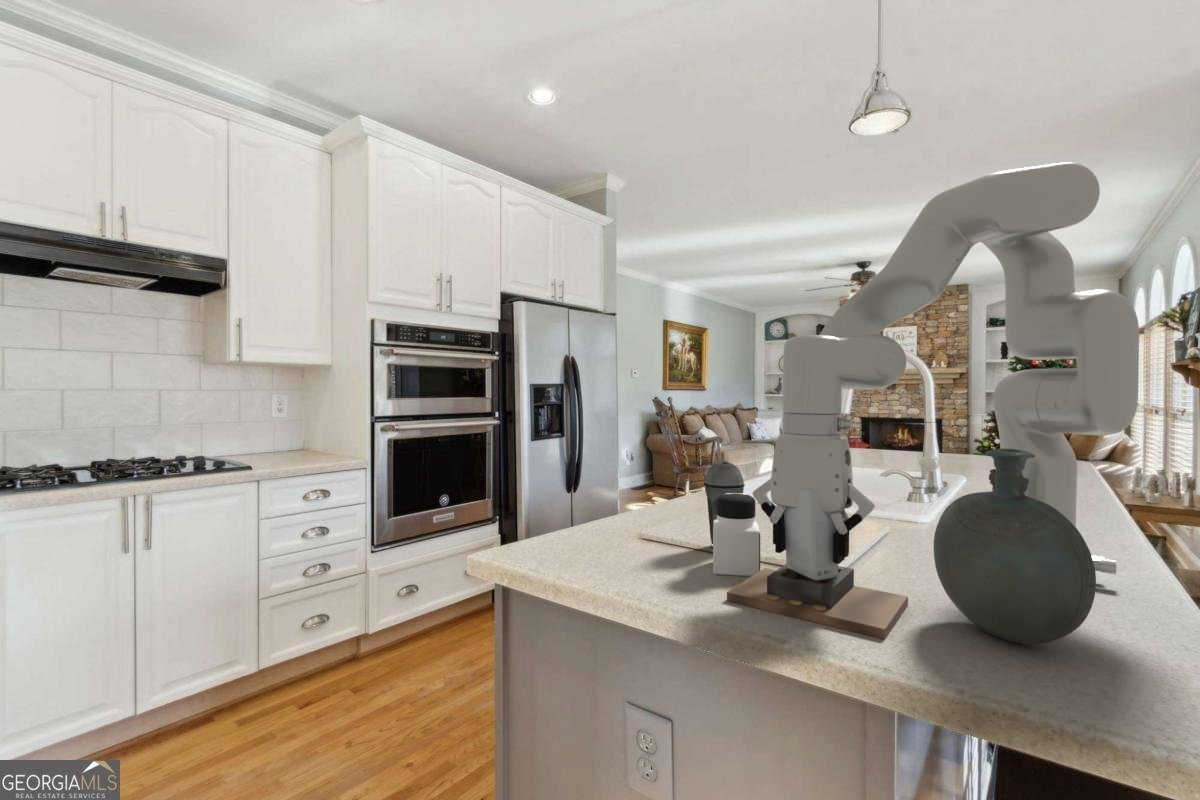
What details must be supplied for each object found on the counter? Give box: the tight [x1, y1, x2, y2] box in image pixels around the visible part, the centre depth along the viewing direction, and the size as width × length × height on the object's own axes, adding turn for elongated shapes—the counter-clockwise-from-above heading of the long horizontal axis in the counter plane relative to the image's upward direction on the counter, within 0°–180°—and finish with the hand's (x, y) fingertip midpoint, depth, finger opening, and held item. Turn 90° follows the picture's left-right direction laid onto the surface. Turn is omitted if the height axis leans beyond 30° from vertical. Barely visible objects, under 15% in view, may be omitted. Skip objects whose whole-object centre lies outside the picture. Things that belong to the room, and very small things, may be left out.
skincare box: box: [784, 489, 839, 580], centre depth 80 cm, size 6×4×12 cm
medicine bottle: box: [712, 493, 761, 577], centre depth 94 cm, size 7×7×12 cm
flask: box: [933, 448, 1097, 645], centre depth 68 cm, size 12×17×22 cm
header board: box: [726, 563, 909, 640], centre depth 79 cm, size 20×13×4 cm, turn 52°
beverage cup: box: [703, 437, 746, 545], centre depth 106 cm, size 7×7×20 cm
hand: (809, 554), depth 80 cm, fingers closed on skincare box, 7 cm apart
